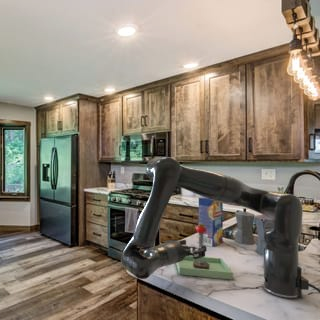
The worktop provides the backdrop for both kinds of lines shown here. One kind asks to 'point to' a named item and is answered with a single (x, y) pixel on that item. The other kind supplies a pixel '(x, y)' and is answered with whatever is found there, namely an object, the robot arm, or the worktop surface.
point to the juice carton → (211, 220)
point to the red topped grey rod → (201, 230)
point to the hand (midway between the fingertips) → (194, 245)
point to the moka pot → (261, 231)
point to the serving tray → (215, 269)
